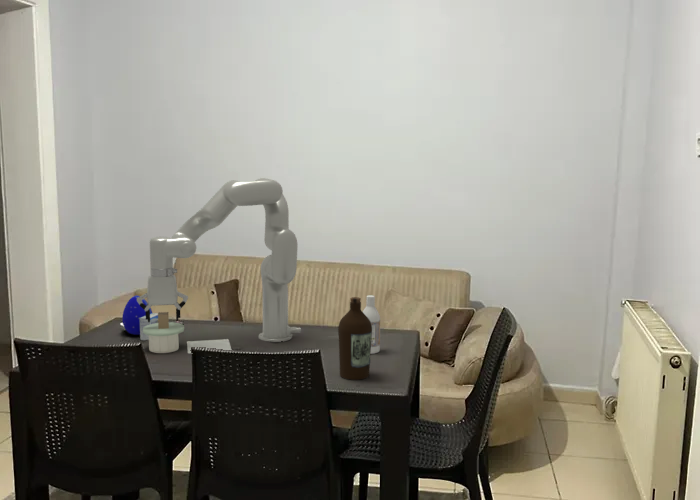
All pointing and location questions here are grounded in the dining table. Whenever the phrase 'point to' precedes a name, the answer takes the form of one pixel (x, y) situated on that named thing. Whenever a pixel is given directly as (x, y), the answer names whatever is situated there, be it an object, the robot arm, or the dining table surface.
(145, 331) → the lid
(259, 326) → the dining table surface
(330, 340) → the dining table surface
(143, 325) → the medicine box
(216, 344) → the mat
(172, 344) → the bowl
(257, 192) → the robot arm
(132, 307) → the ornament
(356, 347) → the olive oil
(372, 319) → the bath foam
